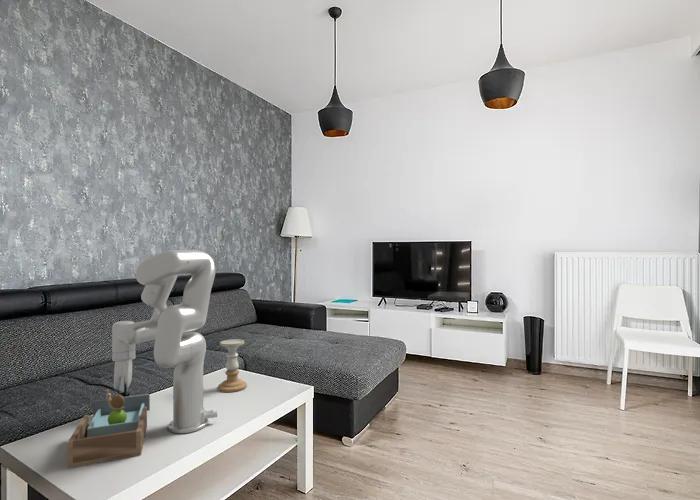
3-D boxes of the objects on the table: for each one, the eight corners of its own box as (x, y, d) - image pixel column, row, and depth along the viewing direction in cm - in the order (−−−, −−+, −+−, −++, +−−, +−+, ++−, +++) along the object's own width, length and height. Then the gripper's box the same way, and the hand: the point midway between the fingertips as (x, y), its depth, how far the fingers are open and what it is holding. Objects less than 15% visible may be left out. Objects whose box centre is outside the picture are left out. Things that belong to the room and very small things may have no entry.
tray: (94, 416, 142) (94, 400, 142) (149, 409, 148) (149, 393, 148) (81, 440, 124) (81, 421, 124) (144, 430, 131) (144, 412, 131)
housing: (84, 436, 129) (84, 415, 129) (147, 427, 136) (147, 406, 136) (67, 467, 110) (67, 442, 110) (140, 454, 117) (140, 430, 117)
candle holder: (238, 381, 184) (238, 337, 184) (252, 388, 175) (251, 341, 175) (212, 387, 176) (212, 341, 176) (225, 394, 167) (225, 346, 167)
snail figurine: (112, 422, 135) (112, 386, 135) (130, 423, 134) (130, 387, 134) (100, 429, 129) (100, 392, 130) (119, 430, 129) (119, 392, 129)
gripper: (115, 351, 154) (115, 399, 154) (108, 361, 140) (108, 413, 140) (137, 349, 157) (137, 396, 157) (132, 358, 143) (133, 410, 143)
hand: (124, 404), depth 148 cm, fingers closed
